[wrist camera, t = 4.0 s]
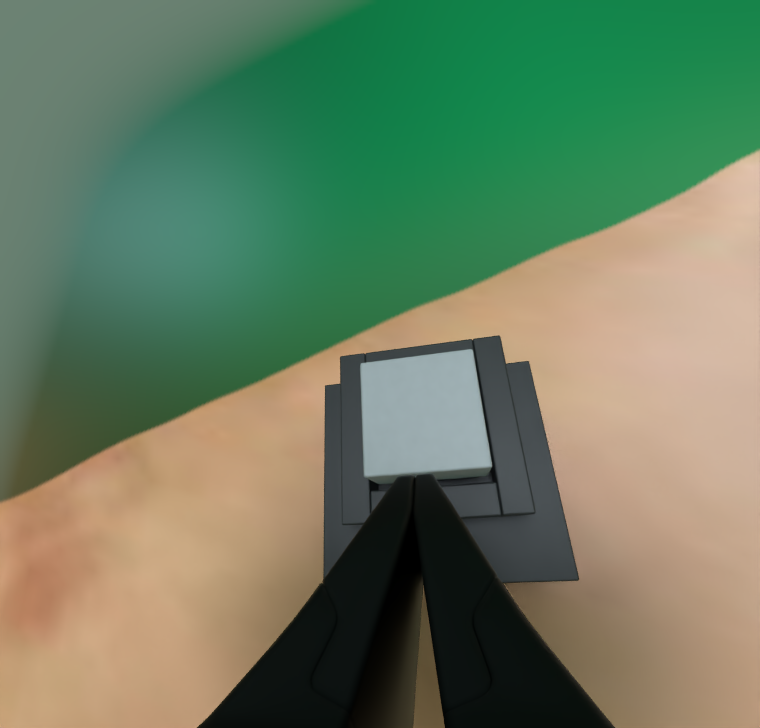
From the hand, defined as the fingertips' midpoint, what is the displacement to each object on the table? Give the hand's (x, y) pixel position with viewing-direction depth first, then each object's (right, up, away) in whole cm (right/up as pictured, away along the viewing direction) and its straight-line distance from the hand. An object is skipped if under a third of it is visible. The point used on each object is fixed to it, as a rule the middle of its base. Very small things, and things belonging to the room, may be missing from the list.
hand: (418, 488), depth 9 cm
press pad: (+1, 0, +7) cm, 7 cm away
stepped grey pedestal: (+2, -3, +11) cm, 12 cm away
